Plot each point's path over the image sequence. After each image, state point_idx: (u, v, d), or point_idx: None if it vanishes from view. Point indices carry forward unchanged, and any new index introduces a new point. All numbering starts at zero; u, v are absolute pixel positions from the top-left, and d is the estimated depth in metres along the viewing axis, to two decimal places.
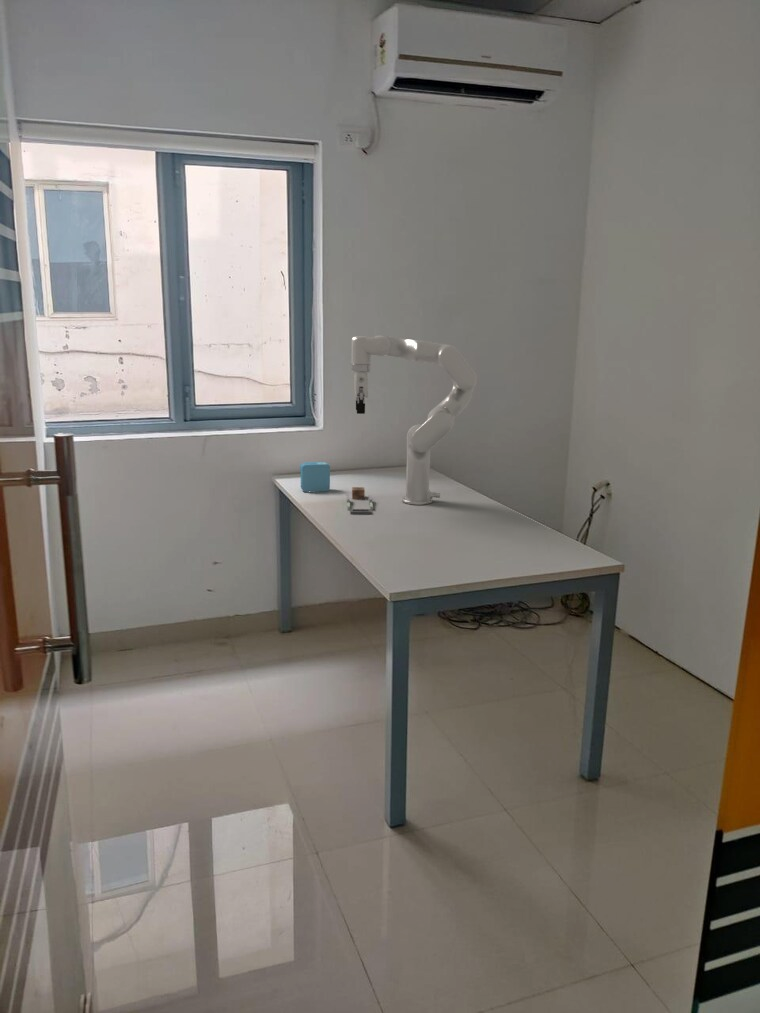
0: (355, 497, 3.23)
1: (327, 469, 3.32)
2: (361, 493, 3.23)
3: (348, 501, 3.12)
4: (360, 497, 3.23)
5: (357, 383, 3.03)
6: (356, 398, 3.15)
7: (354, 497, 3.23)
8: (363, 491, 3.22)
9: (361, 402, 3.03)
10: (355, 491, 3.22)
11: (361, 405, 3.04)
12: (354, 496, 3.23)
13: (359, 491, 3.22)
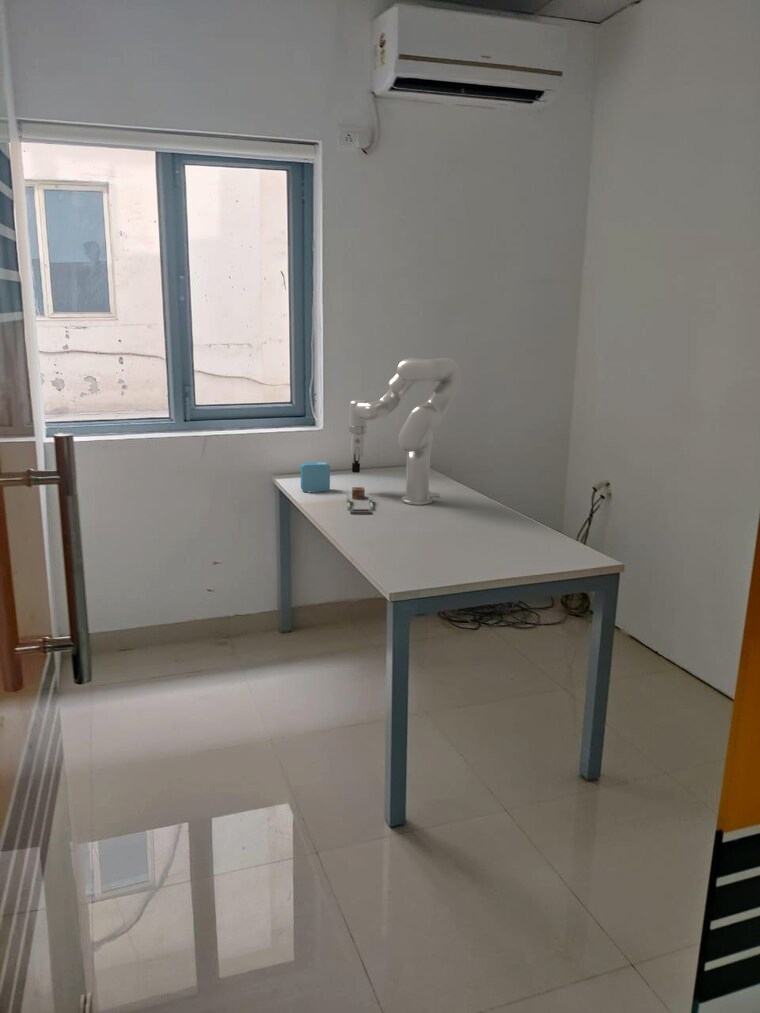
0: (355, 496, 3.23)
1: (327, 469, 3.33)
2: (361, 493, 3.23)
3: (348, 501, 3.12)
4: (360, 497, 3.23)
5: (354, 444, 3.24)
6: None
7: (354, 497, 3.23)
8: (363, 491, 3.22)
9: (356, 462, 3.29)
10: (355, 491, 3.22)
11: (356, 465, 3.30)
12: (354, 496, 3.23)
13: (359, 491, 3.22)
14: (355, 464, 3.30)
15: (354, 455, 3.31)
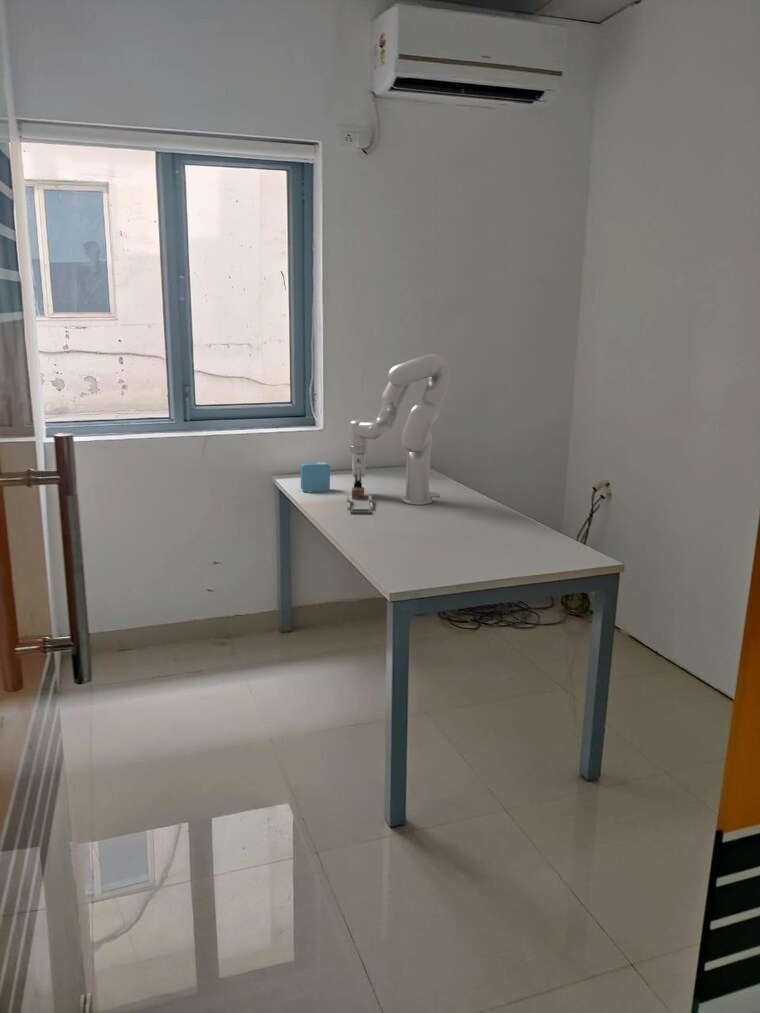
0: (354, 497, 3.22)
1: (327, 469, 3.33)
2: (361, 493, 3.22)
3: (348, 501, 3.12)
4: (360, 497, 3.22)
5: (355, 464, 3.21)
6: None
7: (354, 497, 3.22)
8: (363, 491, 3.22)
9: (358, 482, 3.26)
10: (355, 491, 3.22)
11: (358, 485, 3.27)
12: (354, 496, 3.22)
13: (359, 491, 3.22)
14: (357, 484, 3.27)
15: None
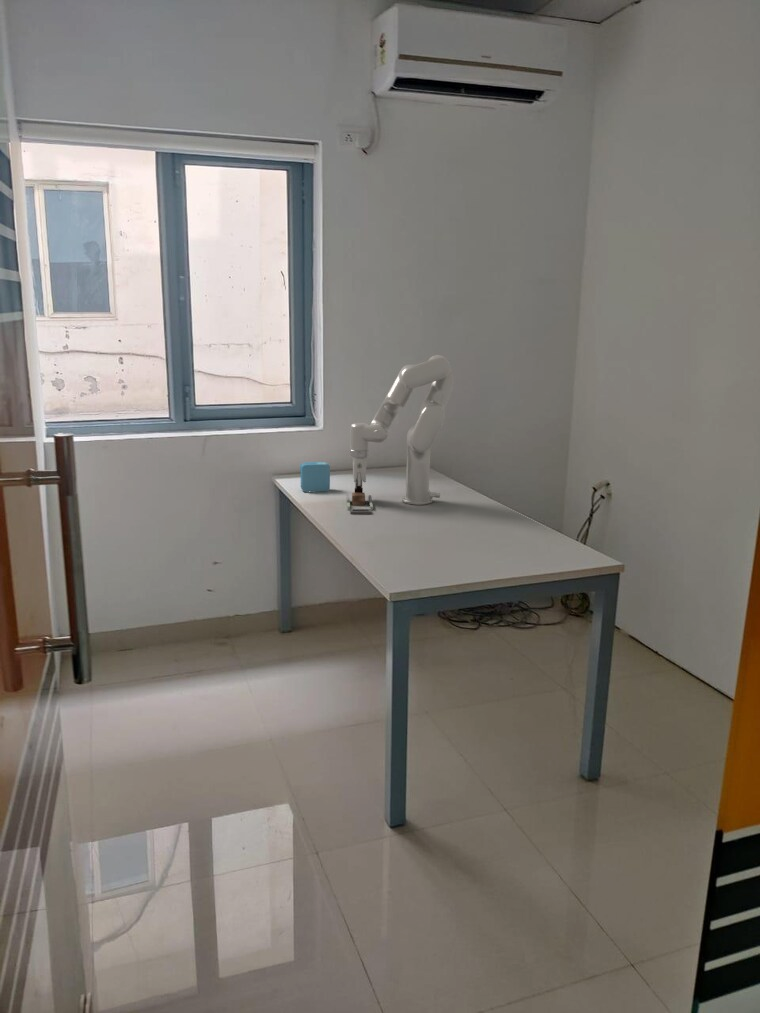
0: (355, 502, 3.13)
1: (327, 469, 3.32)
2: (361, 498, 3.13)
3: (348, 501, 3.12)
4: (360, 503, 3.13)
5: (355, 469, 3.12)
6: None
7: (354, 503, 3.13)
8: (363, 496, 3.13)
9: (359, 488, 3.17)
10: (355, 496, 3.13)
11: (359, 490, 3.18)
12: (354, 501, 3.13)
13: (359, 496, 3.13)
14: (357, 489, 3.18)
15: None
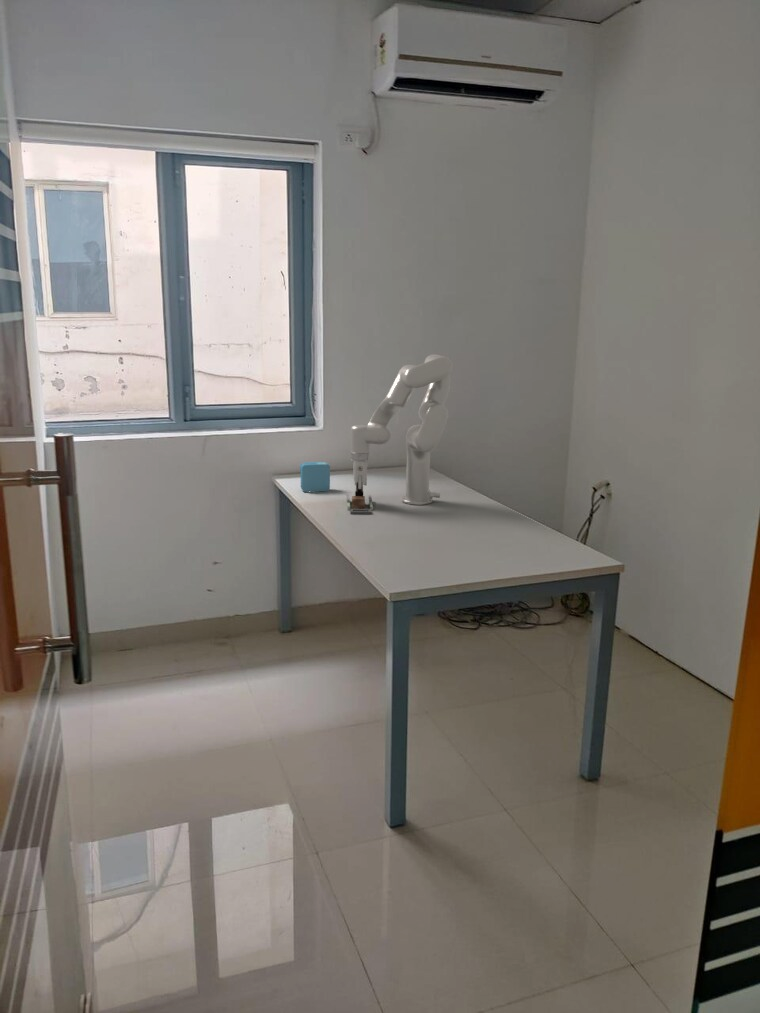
0: (354, 506, 3.08)
1: (327, 469, 3.32)
2: (361, 502, 3.08)
3: (348, 501, 3.12)
4: (360, 506, 3.08)
5: (356, 472, 3.07)
6: None
7: (354, 506, 3.08)
8: (363, 500, 3.08)
9: (359, 491, 3.12)
10: (355, 500, 3.07)
11: (359, 493, 3.13)
12: (354, 505, 3.08)
13: (359, 500, 3.08)
14: (358, 493, 3.12)
15: None
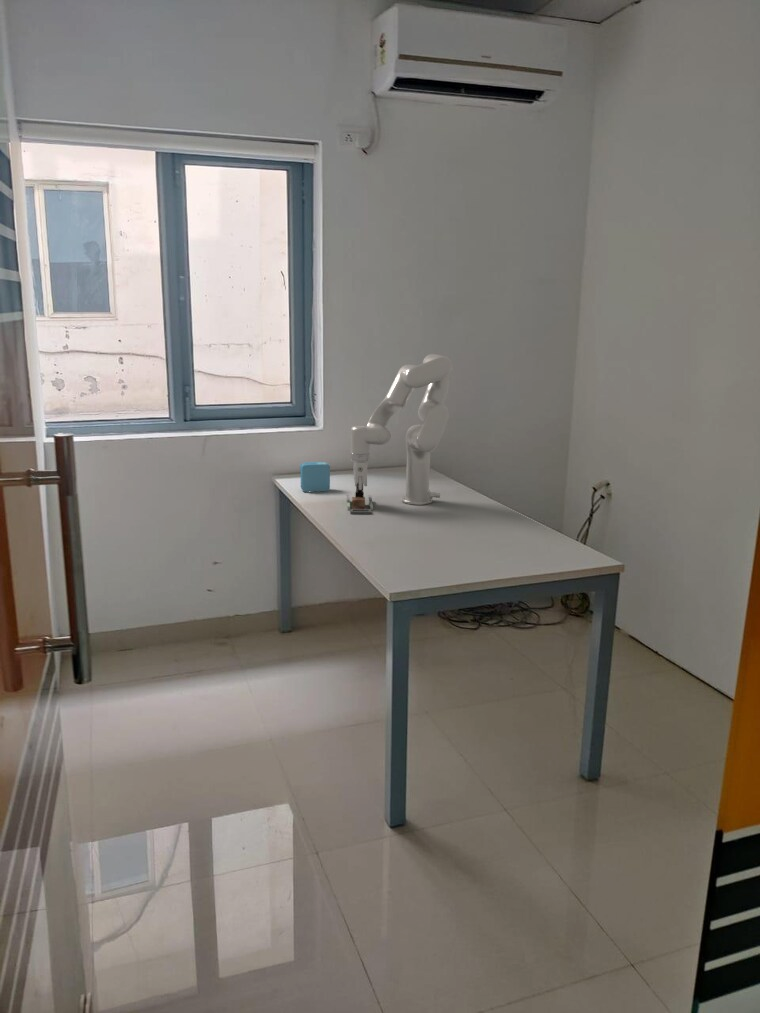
0: (354, 507, 3.07)
1: (327, 469, 3.33)
2: (361, 503, 3.06)
3: (348, 501, 3.12)
4: (360, 507, 3.07)
5: (356, 473, 3.06)
6: None
7: (354, 507, 3.07)
8: (363, 501, 3.06)
9: (360, 492, 3.11)
10: (355, 501, 3.06)
11: (360, 494, 3.11)
12: (354, 506, 3.07)
13: (359, 501, 3.06)
14: (358, 493, 3.11)
15: (357, 484, 3.13)
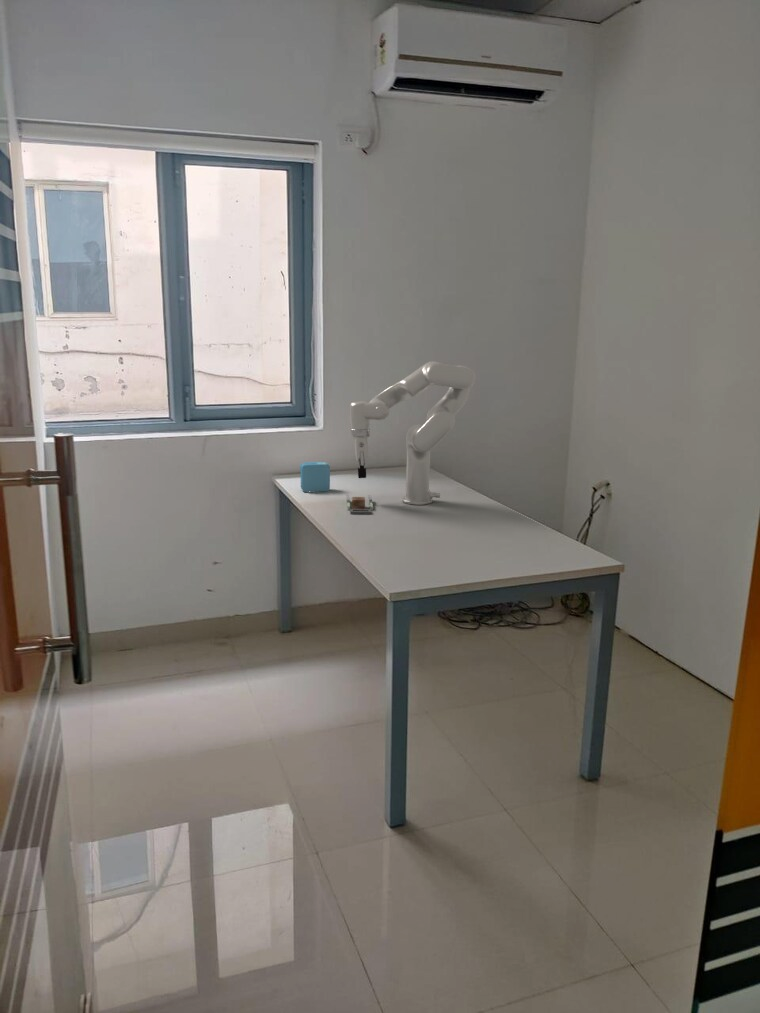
0: (354, 507, 3.07)
1: (327, 469, 3.32)
2: (361, 503, 3.06)
3: (348, 501, 3.12)
4: (360, 507, 3.07)
5: (357, 448, 3.07)
6: (358, 466, 3.16)
7: (354, 507, 3.07)
8: (363, 501, 3.06)
9: (362, 467, 3.12)
10: (355, 501, 3.06)
11: (362, 470, 3.13)
12: (354, 506, 3.07)
13: (359, 501, 3.06)
14: (361, 469, 3.13)
15: (359, 460, 3.14)
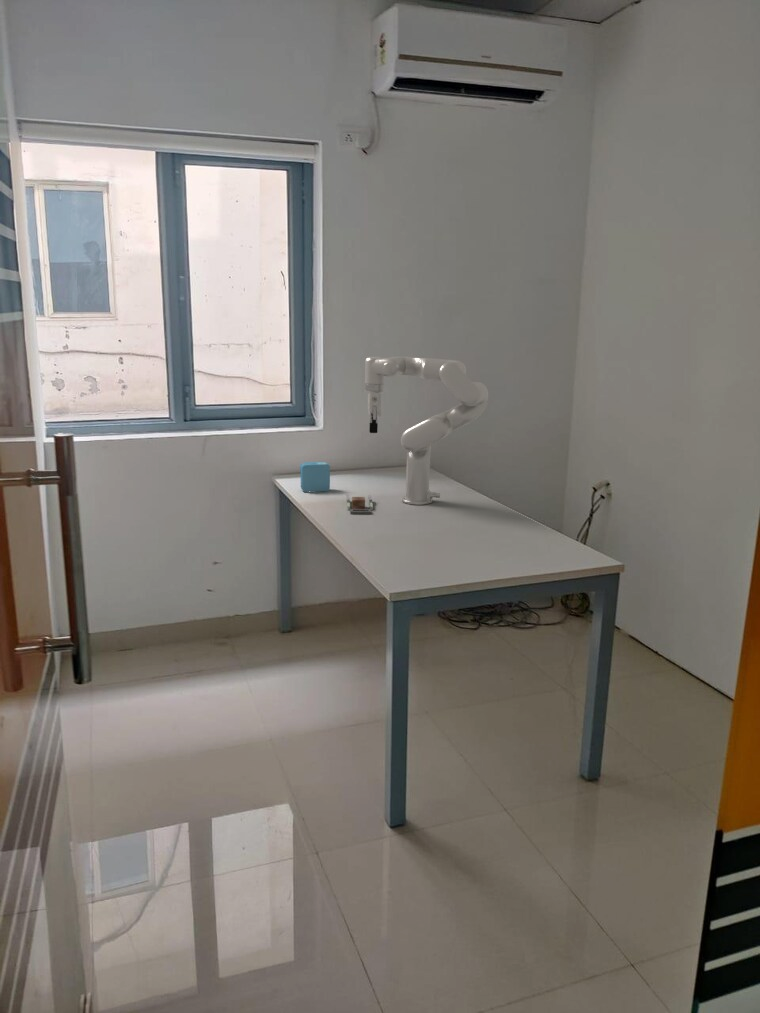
0: (355, 507, 3.07)
1: (327, 469, 3.33)
2: (361, 503, 3.06)
3: (348, 501, 3.12)
4: (360, 507, 3.07)
5: (371, 402, 3.13)
6: None
7: (354, 507, 3.07)
8: (363, 501, 3.06)
9: (374, 422, 3.18)
10: (355, 501, 3.06)
11: (374, 425, 3.19)
12: (354, 506, 3.07)
13: (359, 501, 3.06)
14: (372, 424, 3.19)
15: (371, 415, 3.20)
